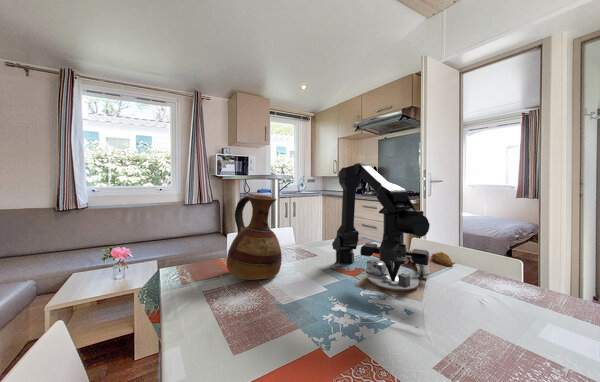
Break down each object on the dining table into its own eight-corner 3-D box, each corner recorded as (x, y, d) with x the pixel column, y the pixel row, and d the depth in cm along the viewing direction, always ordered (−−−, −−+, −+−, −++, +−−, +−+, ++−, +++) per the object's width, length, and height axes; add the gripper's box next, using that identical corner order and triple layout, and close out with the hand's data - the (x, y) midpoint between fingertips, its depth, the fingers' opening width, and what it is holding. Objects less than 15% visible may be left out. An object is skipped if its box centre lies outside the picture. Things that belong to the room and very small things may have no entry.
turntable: (401, 296, 68) (401, 280, 68) (358, 279, 80) (358, 265, 80) (428, 282, 77) (428, 268, 77) (385, 268, 90) (385, 256, 89)
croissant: (425, 258, 105) (425, 247, 105) (441, 258, 105) (441, 247, 104) (441, 269, 92) (441, 256, 91) (459, 270, 91) (459, 257, 91)
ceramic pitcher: (267, 290, 76) (265, 196, 74) (214, 282, 82) (212, 195, 81) (290, 269, 94) (288, 193, 93) (245, 264, 101) (243, 193, 100)
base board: (354, 289, 76) (354, 285, 76) (371, 270, 92) (371, 266, 92) (421, 304, 66) (421, 300, 66) (427, 280, 82) (427, 276, 82)
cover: (379, 280, 76) (379, 267, 76) (361, 273, 81) (361, 261, 81) (391, 274, 80) (391, 262, 80) (374, 269, 85) (374, 257, 85)
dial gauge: (414, 278, 81) (414, 255, 81) (415, 275, 84) (415, 252, 83) (428, 280, 79) (428, 256, 79) (428, 277, 81) (428, 254, 81)
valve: (435, 278, 84) (422, 266, 96) (435, 259, 84) (422, 249, 95) (415, 277, 85) (404, 265, 97) (415, 259, 84) (405, 249, 96)
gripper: (354, 231, 70) (354, 284, 70) (426, 239, 60) (425, 300, 61) (365, 225, 79) (365, 271, 80) (429, 231, 69) (428, 283, 70)
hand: (393, 280), depth 72 cm, fingers closed
